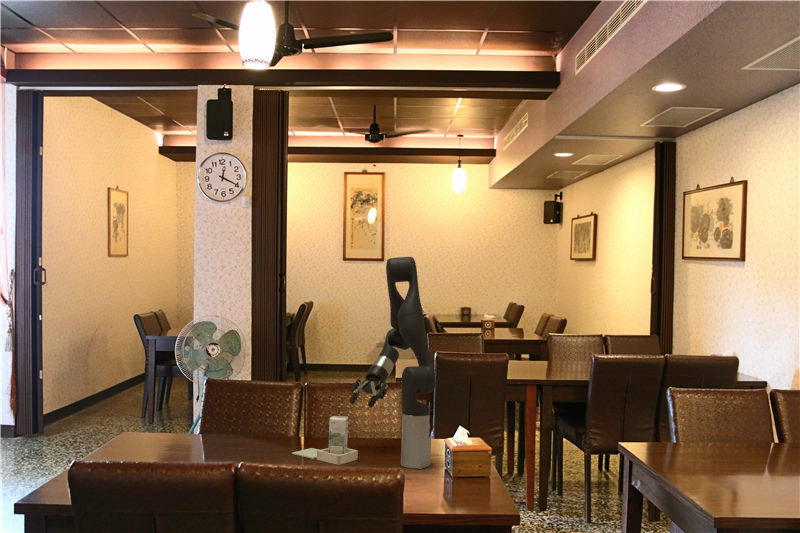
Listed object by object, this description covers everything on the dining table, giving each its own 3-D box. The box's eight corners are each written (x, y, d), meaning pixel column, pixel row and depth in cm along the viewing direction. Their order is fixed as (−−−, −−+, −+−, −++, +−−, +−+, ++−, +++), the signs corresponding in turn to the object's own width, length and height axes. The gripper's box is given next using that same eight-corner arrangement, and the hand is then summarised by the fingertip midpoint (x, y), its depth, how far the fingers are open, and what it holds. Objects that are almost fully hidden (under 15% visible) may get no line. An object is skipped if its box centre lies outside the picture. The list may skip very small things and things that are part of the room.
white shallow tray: (360, 458, 214) (361, 449, 214) (335, 465, 203) (336, 456, 203) (314, 448, 226) (314, 440, 227) (288, 454, 216) (289, 446, 216)
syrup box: (347, 458, 214) (348, 416, 215) (343, 462, 208) (345, 419, 209) (331, 457, 214) (332, 415, 215) (327, 461, 209) (329, 418, 209)
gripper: (361, 362, 234) (340, 395, 224) (391, 365, 226) (371, 400, 216) (369, 375, 238) (349, 408, 228) (399, 379, 230) (379, 413, 219)
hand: (360, 404), depth 222 cm, fingers open, 8 cm apart
